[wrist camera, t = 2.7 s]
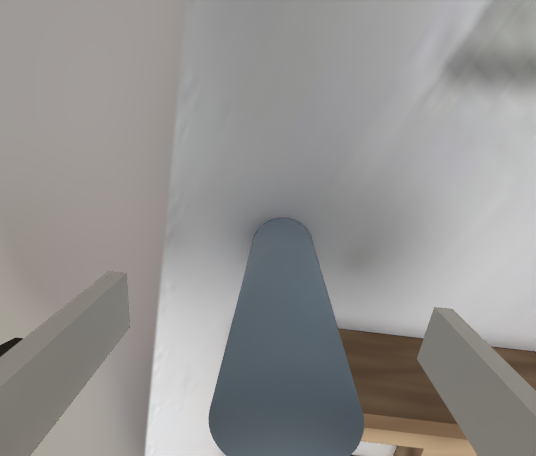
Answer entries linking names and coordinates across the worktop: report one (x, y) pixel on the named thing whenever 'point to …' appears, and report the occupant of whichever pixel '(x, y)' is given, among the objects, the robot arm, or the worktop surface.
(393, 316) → the worktop surface
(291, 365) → the peg
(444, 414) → the box
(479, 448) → the robot arm
